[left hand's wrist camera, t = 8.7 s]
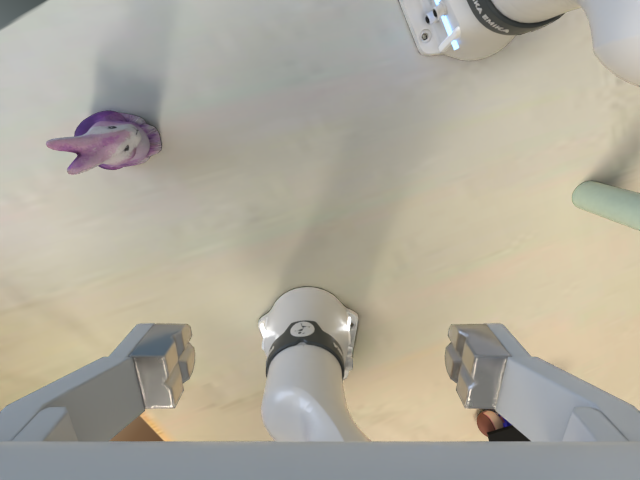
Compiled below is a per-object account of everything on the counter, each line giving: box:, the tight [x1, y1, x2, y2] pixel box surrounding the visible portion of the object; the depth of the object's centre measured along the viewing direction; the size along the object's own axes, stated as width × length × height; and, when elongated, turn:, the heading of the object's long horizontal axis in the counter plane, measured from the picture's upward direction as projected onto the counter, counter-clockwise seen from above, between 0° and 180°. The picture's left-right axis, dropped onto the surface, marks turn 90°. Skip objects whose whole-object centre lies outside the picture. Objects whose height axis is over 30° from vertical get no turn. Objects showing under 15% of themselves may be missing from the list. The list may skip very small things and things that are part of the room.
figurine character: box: [477, 410, 530, 441], centre depth 68 cm, size 7×8×15 cm
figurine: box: [46, 111, 162, 175], centre depth 45 cm, size 9×10×15 cm
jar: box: [572, 181, 640, 231], centre depth 48 cm, size 5×5×14 cm
